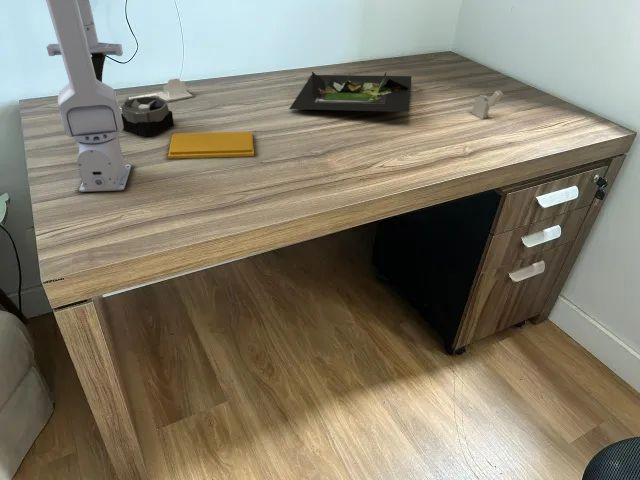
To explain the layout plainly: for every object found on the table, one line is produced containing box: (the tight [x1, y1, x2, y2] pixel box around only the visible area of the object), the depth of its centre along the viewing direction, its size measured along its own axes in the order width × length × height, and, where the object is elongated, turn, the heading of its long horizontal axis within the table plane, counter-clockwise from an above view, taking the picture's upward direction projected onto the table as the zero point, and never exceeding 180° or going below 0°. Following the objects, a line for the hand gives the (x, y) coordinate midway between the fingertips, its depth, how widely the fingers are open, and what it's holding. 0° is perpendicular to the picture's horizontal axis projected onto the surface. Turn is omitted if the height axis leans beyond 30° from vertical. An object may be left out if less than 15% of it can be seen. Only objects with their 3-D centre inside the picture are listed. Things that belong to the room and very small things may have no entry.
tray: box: [167, 131, 255, 160], centre depth 108 cm, size 10×18×1 cm, turn 99°
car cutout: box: [127, 78, 194, 103], centre depth 129 cm, size 15×7×4 cm, turn 126°
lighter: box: [471, 89, 504, 120], centre depth 127 cm, size 7×2×8 cm, turn 31°
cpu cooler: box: [120, 96, 175, 138], centre depth 114 cm, size 10×6×10 cm
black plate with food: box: [289, 71, 413, 113], centre depth 134 cm, size 30×8×30 cm
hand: (94, 88), depth 108 cm, fingers closed
